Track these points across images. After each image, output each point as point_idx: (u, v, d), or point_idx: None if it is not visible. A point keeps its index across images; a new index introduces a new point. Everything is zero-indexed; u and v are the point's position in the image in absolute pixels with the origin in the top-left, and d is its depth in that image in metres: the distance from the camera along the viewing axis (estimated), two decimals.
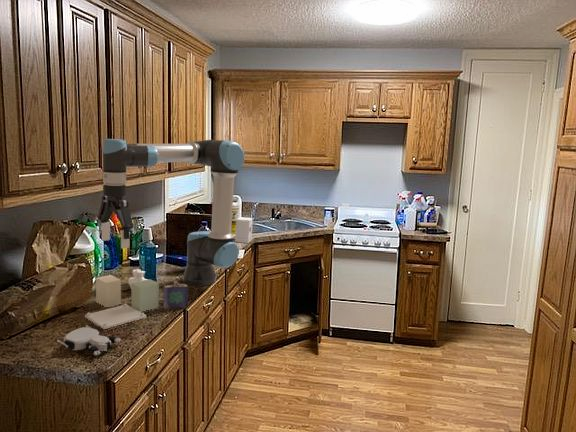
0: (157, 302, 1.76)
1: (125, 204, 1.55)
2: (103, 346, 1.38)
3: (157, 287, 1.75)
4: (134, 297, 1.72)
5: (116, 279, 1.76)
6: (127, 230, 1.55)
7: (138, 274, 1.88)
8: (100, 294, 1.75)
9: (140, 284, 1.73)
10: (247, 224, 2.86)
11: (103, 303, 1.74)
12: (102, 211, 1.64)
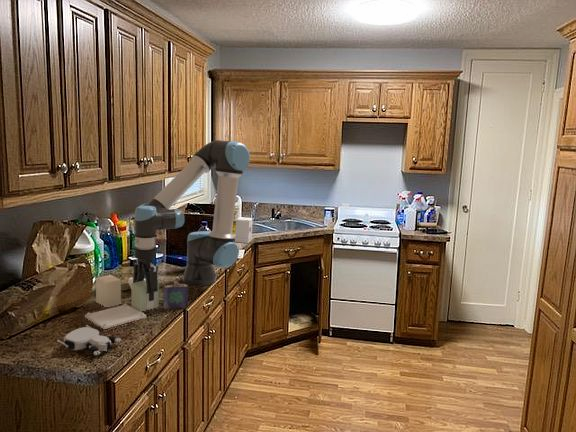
0: (157, 302, 1.76)
1: (155, 270, 1.69)
2: (103, 346, 1.38)
3: None
4: (134, 297, 1.72)
5: (116, 279, 1.76)
6: (152, 293, 1.71)
7: None
8: (100, 294, 1.75)
9: (140, 283, 1.73)
10: (247, 224, 2.86)
11: (103, 303, 1.74)
12: (136, 274, 1.76)
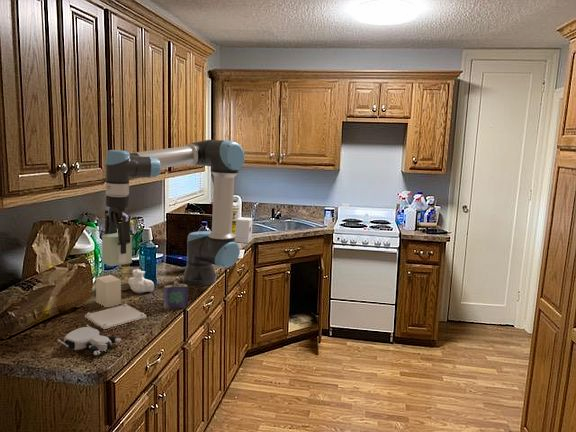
0: (130, 256, 1.62)
1: (127, 219, 1.55)
2: (103, 346, 1.38)
3: (130, 240, 1.61)
4: (105, 250, 1.58)
5: (116, 279, 1.76)
6: (124, 245, 1.57)
7: (138, 274, 1.88)
8: (100, 294, 1.75)
9: (112, 235, 1.59)
10: (247, 224, 2.86)
11: (103, 303, 1.74)
12: (107, 226, 1.62)
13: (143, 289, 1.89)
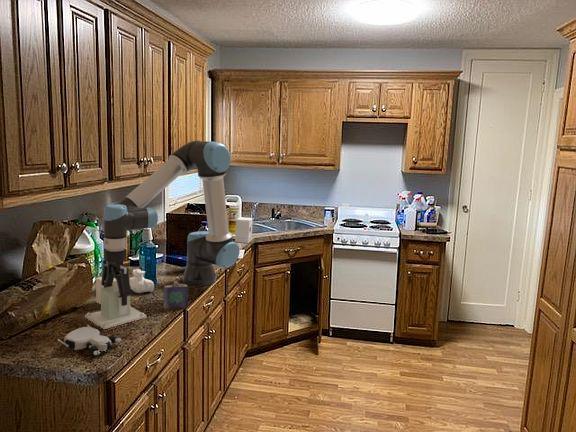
0: (129, 309, 1.65)
1: (125, 272, 1.57)
2: (103, 346, 1.38)
3: None
4: (104, 304, 1.61)
5: None
6: (125, 297, 1.59)
7: (138, 274, 1.88)
8: (100, 294, 1.75)
9: (110, 289, 1.61)
10: (247, 224, 2.86)
11: None
12: (104, 276, 1.66)
13: (143, 289, 1.89)
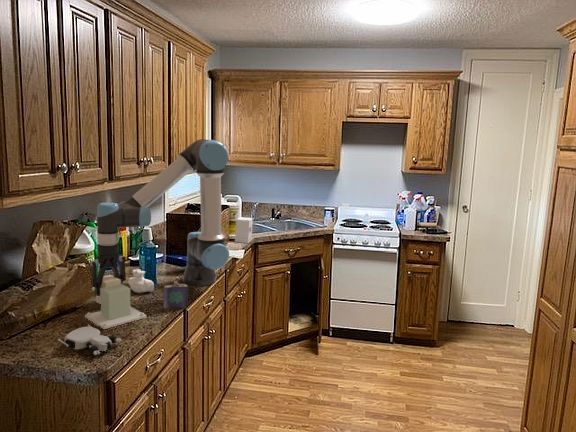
0: (129, 309, 1.65)
1: (91, 265, 1.70)
2: (103, 346, 1.38)
3: (128, 293, 1.64)
4: (104, 304, 1.61)
5: (116, 279, 1.76)
6: (95, 288, 1.73)
7: (138, 274, 1.88)
8: None
9: (110, 289, 1.61)
10: (247, 224, 2.86)
11: None
12: (120, 270, 1.80)
13: (143, 289, 1.89)
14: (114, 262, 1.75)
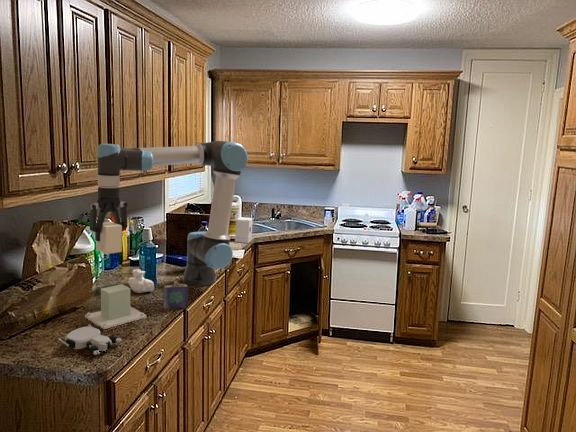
0: (129, 309, 1.65)
1: (91, 208, 1.63)
2: (103, 346, 1.38)
3: (128, 293, 1.64)
4: (104, 304, 1.61)
5: (117, 225, 1.69)
6: (95, 232, 1.66)
7: (138, 274, 1.88)
8: None
9: (110, 289, 1.61)
10: (247, 224, 2.86)
11: (103, 249, 1.67)
12: (121, 217, 1.73)
13: (143, 289, 1.89)
14: (115, 207, 1.68)
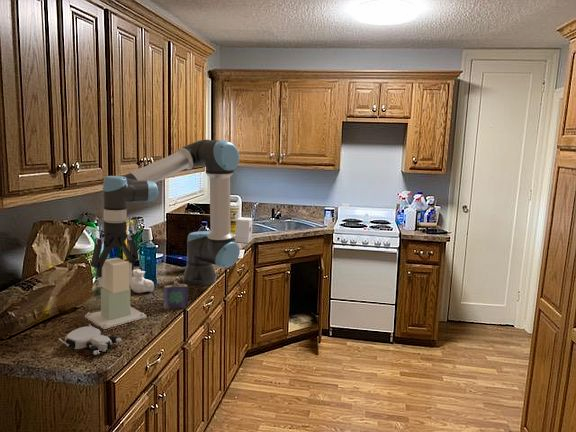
0: (129, 309, 1.65)
1: (96, 242, 1.54)
2: (103, 346, 1.38)
3: (128, 293, 1.64)
4: (104, 304, 1.61)
5: (124, 262, 1.61)
6: (96, 268, 1.56)
7: (138, 274, 1.88)
8: (106, 278, 1.60)
9: None
10: (247, 224, 2.86)
11: (110, 288, 1.59)
12: (130, 249, 1.66)
13: (143, 289, 1.89)
14: (122, 241, 1.60)
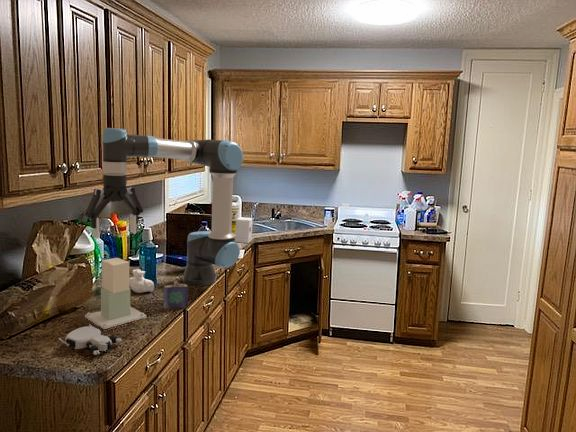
0: (129, 309, 1.65)
1: (95, 193, 1.51)
2: (103, 346, 1.38)
3: (128, 293, 1.64)
4: (104, 304, 1.61)
5: (124, 262, 1.61)
6: (91, 219, 1.52)
7: (138, 274, 1.88)
8: (106, 278, 1.60)
9: None
10: (247, 224, 2.86)
11: (110, 288, 1.59)
12: (133, 203, 1.63)
13: (143, 289, 1.89)
14: (123, 195, 1.57)
